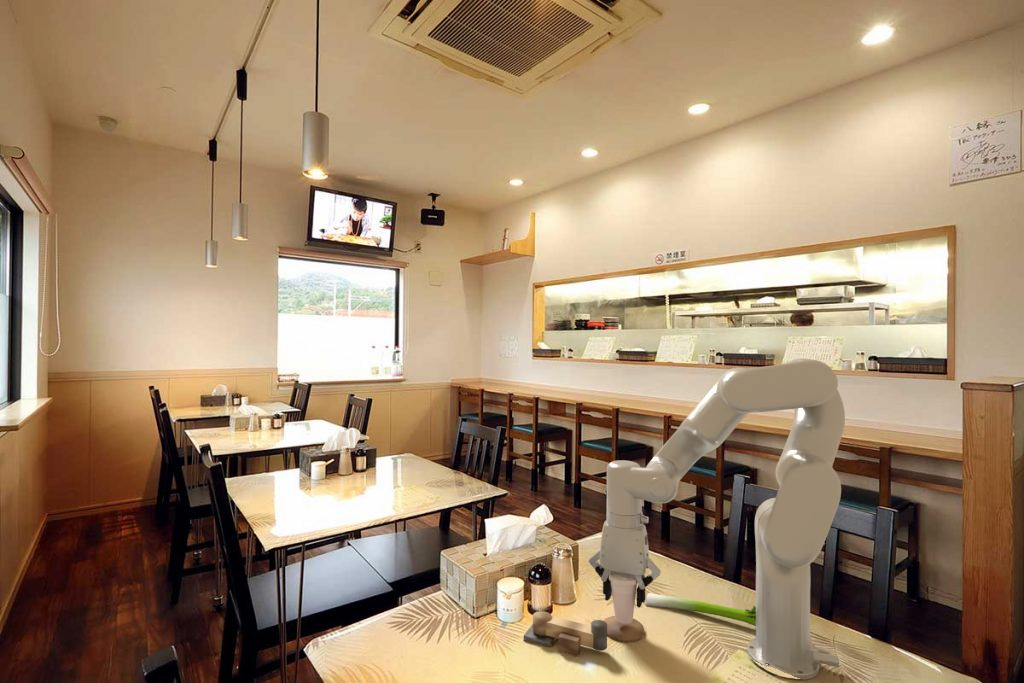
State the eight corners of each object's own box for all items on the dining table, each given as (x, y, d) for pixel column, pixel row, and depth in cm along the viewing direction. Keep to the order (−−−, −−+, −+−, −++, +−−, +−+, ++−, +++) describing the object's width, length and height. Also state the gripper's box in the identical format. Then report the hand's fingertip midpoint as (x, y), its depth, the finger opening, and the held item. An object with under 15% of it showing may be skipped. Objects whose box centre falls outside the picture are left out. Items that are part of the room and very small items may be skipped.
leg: (529, 632, 108) (529, 611, 108) (537, 623, 112) (537, 603, 112) (603, 653, 101) (604, 631, 101) (609, 642, 105) (609, 621, 105)
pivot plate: (560, 632, 111) (560, 628, 111) (550, 647, 105) (550, 642, 105) (534, 626, 113) (534, 621, 113) (523, 640, 108) (523, 635, 108)
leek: (651, 604, 127) (788, 628, 112) (644, 621, 121) (787, 648, 106) (649, 581, 127) (785, 601, 112) (641, 596, 121) (784, 620, 106)
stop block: (580, 651, 104) (580, 636, 104) (577, 656, 102) (577, 641, 102) (561, 646, 106) (561, 631, 106) (558, 651, 104) (558, 636, 104)
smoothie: (636, 612, 115) (636, 549, 115) (641, 628, 108) (640, 561, 108) (607, 611, 115) (607, 548, 115) (610, 626, 109) (610, 560, 109)
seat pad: (647, 624, 114) (647, 621, 114) (639, 646, 106) (639, 642, 106) (607, 615, 118) (607, 612, 118) (597, 635, 110) (597, 631, 110)
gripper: (667, 519, 112) (667, 602, 112) (590, 508, 119) (590, 586, 119) (661, 530, 105) (661, 618, 105) (580, 518, 112) (580, 600, 112)
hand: (623, 600), depth 112 cm, fingers closed on smoothie, 6 cm apart
